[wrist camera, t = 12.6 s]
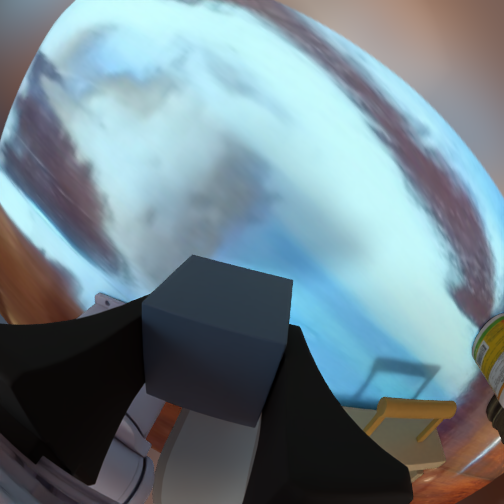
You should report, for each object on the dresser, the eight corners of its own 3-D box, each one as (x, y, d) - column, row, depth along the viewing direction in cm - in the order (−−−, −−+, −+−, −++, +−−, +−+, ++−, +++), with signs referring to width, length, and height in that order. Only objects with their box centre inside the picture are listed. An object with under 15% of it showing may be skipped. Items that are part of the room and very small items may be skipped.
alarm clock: (274, 471, 27) (257, 558, 15) (210, 463, 29) (181, 544, 16) (275, 405, 23) (249, 540, 10) (187, 395, 24) (131, 509, 12)
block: (184, 334, 12) (145, 393, 8) (192, 254, 11) (140, 302, 7) (269, 358, 12) (255, 428, 8) (293, 279, 10) (286, 344, 7)
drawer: (353, 363, 19) (363, 428, 13) (459, 376, 18) (483, 426, 12) (284, 467, 25) (277, 510, 19) (368, 473, 24) (370, 513, 18)
